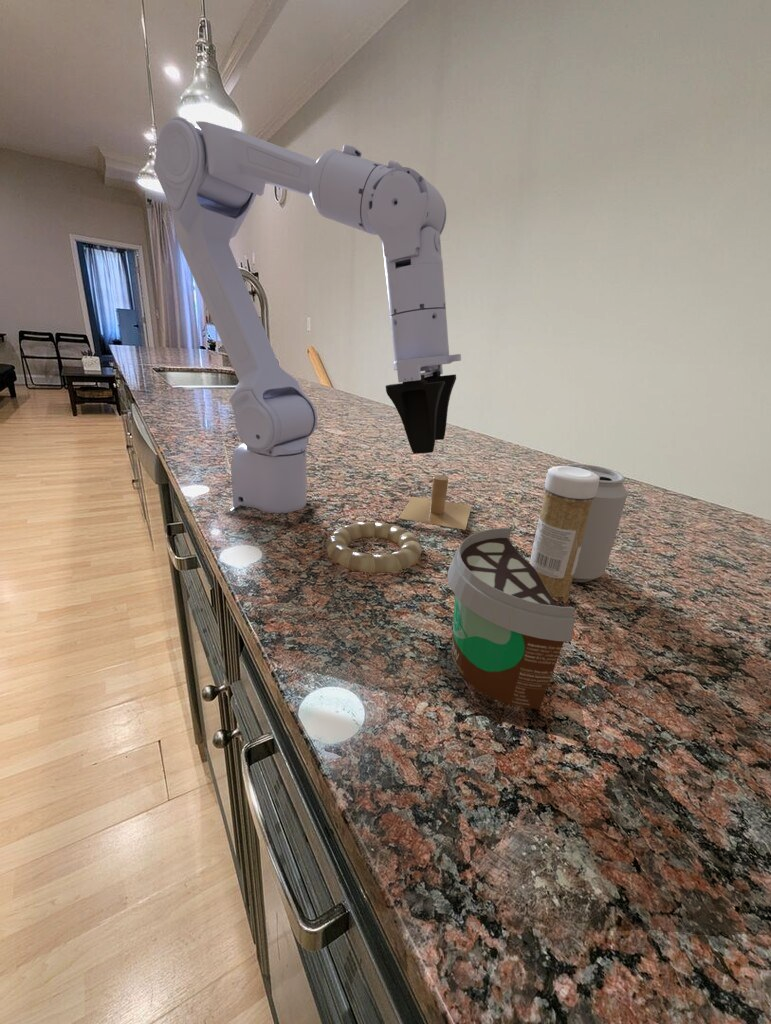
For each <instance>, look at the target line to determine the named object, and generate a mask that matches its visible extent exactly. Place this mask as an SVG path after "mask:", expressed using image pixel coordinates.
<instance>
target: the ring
mask: <svg viewBox="0 0 771 1024" xmlns="http://www.w3.org/2000/svg"><path fill="white" fill-rule="evenodd" d="M370 537H376V538H381V539H386V540H389V541H392V542H393V543H396V544H397V546H398V548H399V550H397V551H393V552H391V553H386V554H369V553H364V552H360V551H359V552H358V551H356V550H354V549H352V548H350V547H349V545H350V543H351V542H352V541H355V540H357V539H361V538H370ZM324 546H325V550H326V553H327V556H328V558H329V559H331V560H332V561H334V562H336V563H337V564H339V565H340V566H342V567H343V568H346V569H349V570H355V571H360V572H364V573H370V574H381V573H391V572H399V571H403V570H404V569H407V568H409V567H412V566H414V565H416V564H417V563H418V562H419V560H420V558H421V555H422V553H423V547H422V544H421V543H420V542H419V540H418V538H417V537H416V536H415V535H414V533H412V532H411V531H409V530H406V529H405V528H402V527H400V526H398V525H395V524H391V523H386V522H385V523H384V522H378V521H366V522H365V521H364V522H353V523H350V524H347V525H344V526H340V527H338V528H337V529H336V530H334V532H332V533H331V535H330V536H328V538H327V539H326V541H325V545H324Z"/></svg>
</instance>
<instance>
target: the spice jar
mask: <svg viewBox="0 0 771 1024" xmlns="http://www.w3.org/2000/svg"><path fill="white" fill-rule="evenodd" d="M599 480H600V479H599V476H598V475H597V474H595V473H593V472H591V471H588V470H585V469H581V468H576V467H569V466H565V465H556V466H553V467H552V466H551V467H550V468H549V469H548V470H547V472H546V478H545V482H544V496H543V501H542V506H541V510H540V514H539V517H538V521H537V525H536V531H535V535H534V539H533V544H532V549H531V554H530V559H529V563H530V564H531V565H532V566H533V567H534V569H535V570H536V572H537V574H538V575H539V577H540V579H541V581H542V582H543V584H544V586H545V588H546V590H547V591H548V593H549V594H550V596H551V597H552V598H561V597H562V601H563V604H564V605H565V604H566V603H567V602H568V600H569V599H570V590H571V586H572V584H573V583H572V582H573V581H572V578H573V575H574V573H575V570H576V566H577V563H578V559H579V554H580V550H581V543H582V539H583V535H584V532H585V527H586V524H587V520H588V516H589V511H590V506H591V502H592V501H593V499H594V497H595V496H596V493H597V489H598V485H599Z"/></svg>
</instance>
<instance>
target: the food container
mask: <svg viewBox="0 0 771 1024" xmlns="http://www.w3.org/2000/svg"><path fill="white" fill-rule="evenodd" d="M511 530H512V528H510V527H500V528H491V529H483V530H481V531H476V532H475V533H472V534H470V535H468V536H467V537H466V538H464V540H462V542H461V543H460V545H459V546H458V548H457V549H456V550H455V553H454V555H453V558H452V560H451V563H450V565H449V568H448V570H447V583H448V585H449V588H450V589H451V591H452V593H453V594H454V602H453V603H454V605H453V619H452V637H451V653H450V654H451V659H452V663H453V664H454V667H455V669H456V670H457V672H458V673H459V675H460V676H461V677H462V678H463V679H464V681H465V682H467V683H468V684H469V685H470V686H472V688H474V689H475V690H477V691H478V692H480V693H482V694H483V695H485V696H487V697H489V698H490V699H492V700H496V701H497V702H500V703H503V704H505V705H510V706H513V707H518V708H525V709H539V710H540V709H541V706H542V704H543V701H544V698H545V695H546V693H547V690H548V687H549V684H550V682H551V679H552V676H553V673H554V671H555V667H556V665H557V662H558V659H559V656H560V653H561V651H562V649H563V645H564V642H570V643H571V642H572V640H573V635H574V634H573V633H574V627H575V619H574V615H575V610H576V608H575V606H574V607H573V606H571V607H569V606H559V605H558V604H557V602H556V601H555V600H554V597H551V596H550V594H549V593H548V591H547V590H546V588H545V586H544V584H543V582H542V581H541V579H540V577H539V575H538V574H537V572H536V570H535V569H534V567H533V566H532V565H531V564H530V561H528V560H526V559H525V558H524V557H523V555H521V554H520V553H519V551H517V549H516V548H515V546H514V545H513V544H512V542H511V541H510V537H511Z"/></svg>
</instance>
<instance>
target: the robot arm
mask: <svg viewBox="0 0 771 1024" xmlns="http://www.w3.org/2000/svg"><path fill="white" fill-rule="evenodd" d="M195 123H196V124H197V126H198V127H197V126H196V125H194V124H193V123H192V122H191V121H190V120H188V119H187V118H184V117H182V116H181V117H180V116H174V117H172V118H170V119H168V120H167V121H166V122H165V123H164V124H163V126H162V127H161V130H160V132H159V134H158V138H157V145H156V150H155V157H154V162H153V163H154V164H153V170H154V172H155V174H156V177H157V179H158V182H159V184H160V187H161V188H162V191H163V193H164V195H165V197H166V200H167V202H168V204H169V207H170V211H171V215H172V221H173V224H174V230H175V234H176V239H177V242H178V245H179V248H180V250H181V253H182V255H183V257H184V259H185V261H186V264H187V266H188V268H189V270H190V273H191V275H192V277H193V280H194V282H195V284H196V287H197V289H198V292H199V294H200V295H201V297H202V301H203V303H204V305H205V308H206V309H207V312H208V313H209V314H208V315H209V316H210V319H211V321H212V323H213V326H214V328H215V330H216V332H217V334H218V337H219V339H220V341H221V344H222V346H223V348H224V352H225V354H226V355H227V358H228V360H229V363H230V364H231V367H232V369H233V371H234V373H235V376H236V378H237V381H238V383H237V384H236V386H235V388H234V390H233V391H232V394H231V395H230V397H229V403H230V405H231V407H232V410H233V413H234V422H235V423H234V424H235V429H236V432H237V434H238V437H239V439H240V440H241V442H242V443H241V444H240V445H239V446H238V447H236V449H235V450H234V451H233V452H234V453H233V455H232V458H231V462H230V475H231V489H232V504H233V507H232V508H230V511H233V510H234V509H237V508H238V507H239V506H243V507H249V508H254V509H256V510H259V511H262V512H266V513H271V514H272V513H273V514H284V513H285V514H286V513H293V512H296V511H299V510H302V509H304V508H305V507H306V506H307V504H308V502H307V500H308V497H307V496H308V493H307V492H308V491H307V489H308V487H307V486H308V484H307V483H308V482H307V481H308V476H307V474H308V473H307V471H308V470H307V469H308V468H307V464H308V463H307V462H308V461H307V459H308V458H307V455H308V454H307V452H308V451H307V448H308V447H307V446H309V445H310V444H309V442H310V441H309V438H310V437H311V436H312V435H314V433H315V431H316V429H317V426H318V420H319V419H318V418H319V417H318V413H317V409H316V406H315V405H314V403H313V402H312V400H311V399H310V398H309V397H308V396H307V395H306V394H305V393H304V392H303V390H302V388H301V386H300V384H299V381H298V380H297V379H296V378H295V377H293V376H292V375H291V374H290V373H288V372H287V371H285V370H284V368H282V367H281V365H280V364H279V361H278V358H277V355H276V354H275V351H274V349H273V346H272V345H271V342H270V339H269V337H268V334H267V332H266V330H265V328H264V325H263V322H262V321H261V318H260V316H259V313H258V311H257V308H256V306H255V304H254V301H253V298H252V296H251V294H250V292H249V289H248V287H247V284H246V282H245V279H244V277H243V275H242V273H241V270H240V268H239V265H238V263H237V260H236V258H235V256H234V253H233V251H232V249H231V246H230V242H231V239H233V238H234V237H236V235H237V234H238V232H239V230H240V228H241V226H242V224H243V223H244V220H245V218H246V217H247V215H248V214H249V211H250V210H251V207H252V205H253V203H254V202H255V199H256V196H258V197H261V196H263V195H264V193H265V187H266V185H270V186H273V187H276V188H281V189H283V190H287V191H290V192H293V193H297V194H300V195H303V196H306V197H310V198H311V201H312V203H313V206H314V207H315V210H316V211H317V212H318V214H319V215H320V216H321V217H323V218H326V219H328V220H331V221H334V222H337V223H340V224H342V225H346V226H348V227H351V228H354V229H357V230H359V231H362V232H364V233H367V234H370V235H372V236H378V237H379V238H380V240H381V243H382V251H383V260H384V261H383V262H384V271H385V281H386V290H387V300H388V311H389V319H390V328H391V329H390V330H391V338H392V347H393V356H394V362H393V363H392V364H393V370H394V371H396V372H397V373H396V374H397V379H398V380H397V382H398V383H391V384H386V385H385V392H386V395H387V397H388V398H389V399H390V400H391V403H392V404H393V405H394V407H395V409H396V412H397V413H398V416H399V417H400V420H401V422H402V425H403V428H404V431H405V435H406V438H407V441H408V444H409V447H410V450H411V452H412V454H414V455H416V454H417V455H419V454H431V453H433V452H434V450H435V444H436V441H442V440H444V439H445V435H446V430H447V422H448V410H449V404H450V399H451V395H452V391H453V388H454V386H455V383H456V380H457V374H456V373H455V374H447V375H446V374H445V375H443V373H444V370H443V365H448V364H452V363H453V362H461V361H462V354H461V353H456V354H450V346H449V333H448V332H449V331H448V321H447V319H448V318H447V303H446V291H445V275H444V261H443V256H442V245H441V244H442V243H441V236H442V233H443V232H444V228H445V225H446V221H447V206H446V203H445V200H444V197H443V195H442V194H441V193H440V191H439V190H438V189H437V188H436V187H435V186H434V185H433V184H432V183H430V182H429V181H428V180H427V179H426V178H425V177H424V176H423V175H421V174H420V173H419V172H418V171H416V170H415V169H414V168H411V167H408V166H402V164H400V163H399V162H398V161H394V160H390V159H389V161H388V163H387V165H386V164H383V163H380V162H377V161H374V160H370V159H367V158H365V157H362V151H360V150H359V149H358V148H357V147H356V146H353V145H349V144H347V143H346V144H343V147H342V150H338V149H334V148H331V149H328V150H326V151H324V152H322V154H321V155H320V156H319V157H318V159H314V158H312V157H309V156H307V155H303V154H301V153H298V152H295V151H294V150H290V149H288V148H285V147H283V146H280V145H277V144H275V143H272V142H269V141H267V140H264V139H261V138H258V137H256V136H254V135H251V134H248V133H246V132H243V131H239V130H237V129H232V128H229V127H225V126H222V125H220V124H219V125H218V124H216V123H213V122H212V123H211V122H208V121H201V120H196V121H195Z"/></svg>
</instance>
